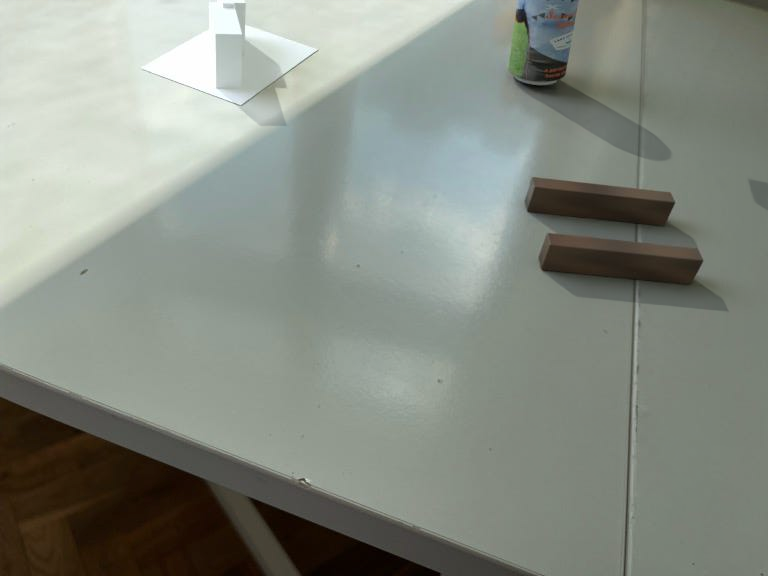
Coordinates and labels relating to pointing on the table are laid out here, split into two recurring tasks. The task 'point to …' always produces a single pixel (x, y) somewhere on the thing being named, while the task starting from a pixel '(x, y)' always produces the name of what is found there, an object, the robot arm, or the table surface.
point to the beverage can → (542, 40)
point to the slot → (608, 253)
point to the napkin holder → (230, 56)
